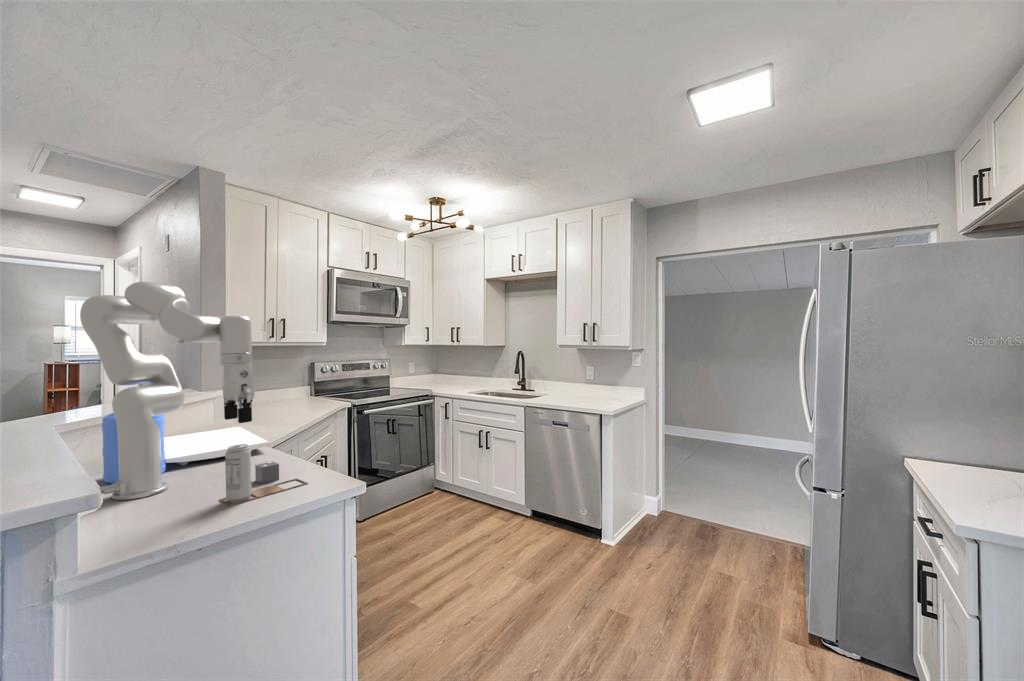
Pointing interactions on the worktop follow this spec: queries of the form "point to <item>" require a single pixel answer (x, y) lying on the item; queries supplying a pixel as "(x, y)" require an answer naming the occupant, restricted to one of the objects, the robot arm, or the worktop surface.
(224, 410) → the robot arm
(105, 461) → the water jug
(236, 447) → the energy drink can
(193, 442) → the board
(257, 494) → the board
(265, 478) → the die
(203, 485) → the worktop surface
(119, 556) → the worktop surface
